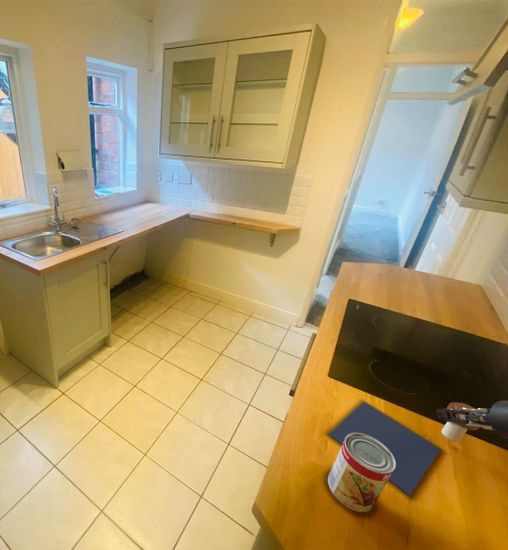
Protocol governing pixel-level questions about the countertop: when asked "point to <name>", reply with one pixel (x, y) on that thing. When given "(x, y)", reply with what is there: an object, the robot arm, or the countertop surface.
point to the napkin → (391, 444)
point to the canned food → (360, 471)
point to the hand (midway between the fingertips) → (453, 415)
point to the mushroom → (457, 424)
